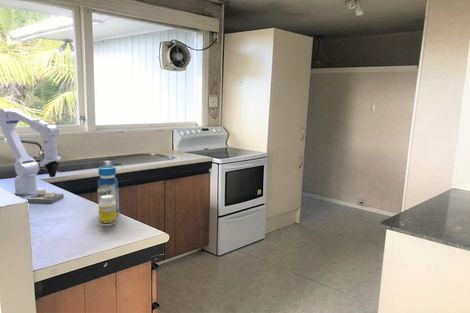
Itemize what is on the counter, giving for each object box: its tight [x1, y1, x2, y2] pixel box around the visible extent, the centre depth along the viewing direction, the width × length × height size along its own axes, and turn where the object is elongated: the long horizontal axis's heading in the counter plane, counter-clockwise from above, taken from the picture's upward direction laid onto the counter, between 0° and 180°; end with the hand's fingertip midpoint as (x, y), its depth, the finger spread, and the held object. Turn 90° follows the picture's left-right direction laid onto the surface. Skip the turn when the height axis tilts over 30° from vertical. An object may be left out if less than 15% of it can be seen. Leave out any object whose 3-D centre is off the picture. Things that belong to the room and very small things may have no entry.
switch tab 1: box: [35, 188, 46, 195], centre depth 172 cm, size 3×2×2 cm
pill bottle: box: [98, 195, 118, 227], centre depth 138 cm, size 6×6×11 cm
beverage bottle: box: [96, 165, 120, 215], centre depth 150 cm, size 8×8×20 cm
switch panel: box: [26, 192, 65, 204], centre depth 170 cm, size 12×10×2 cm
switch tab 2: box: [45, 190, 55, 197], centre depth 168 cm, size 3×2×2 cm
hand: (52, 176), depth 178 cm, fingers closed
